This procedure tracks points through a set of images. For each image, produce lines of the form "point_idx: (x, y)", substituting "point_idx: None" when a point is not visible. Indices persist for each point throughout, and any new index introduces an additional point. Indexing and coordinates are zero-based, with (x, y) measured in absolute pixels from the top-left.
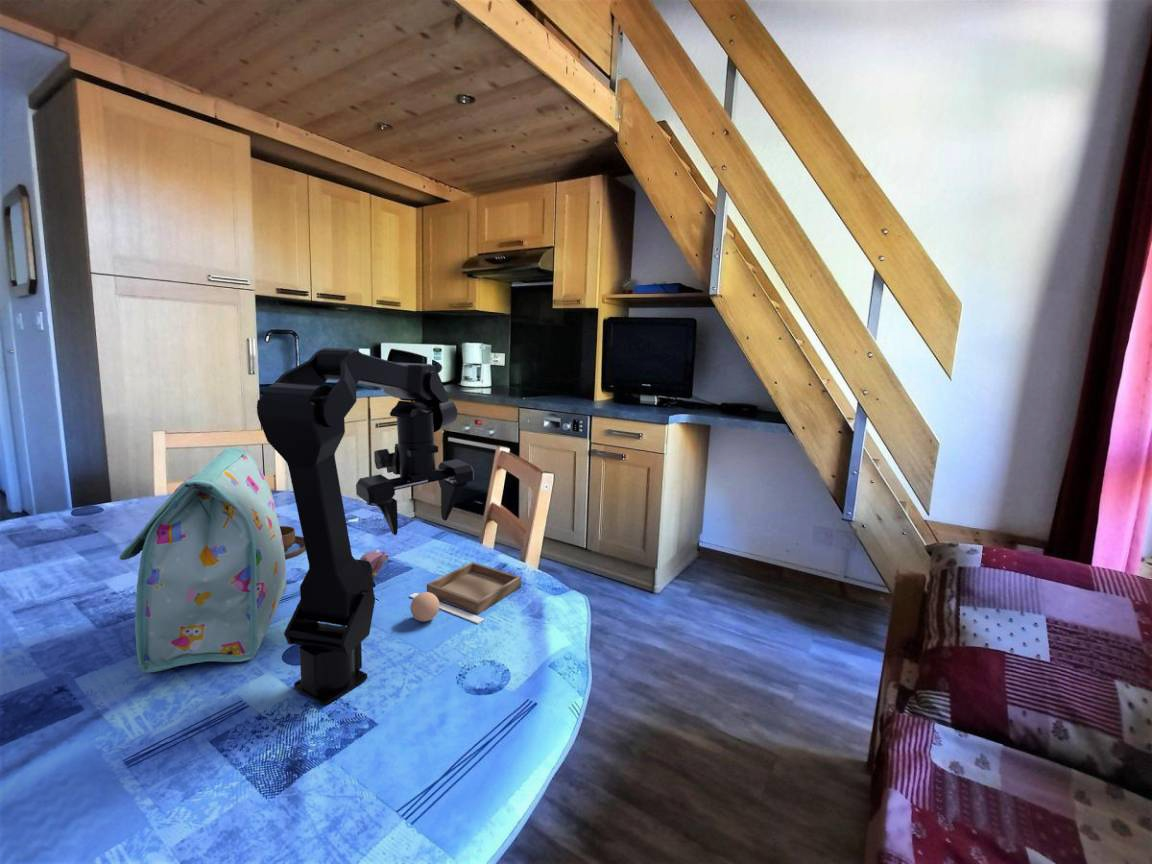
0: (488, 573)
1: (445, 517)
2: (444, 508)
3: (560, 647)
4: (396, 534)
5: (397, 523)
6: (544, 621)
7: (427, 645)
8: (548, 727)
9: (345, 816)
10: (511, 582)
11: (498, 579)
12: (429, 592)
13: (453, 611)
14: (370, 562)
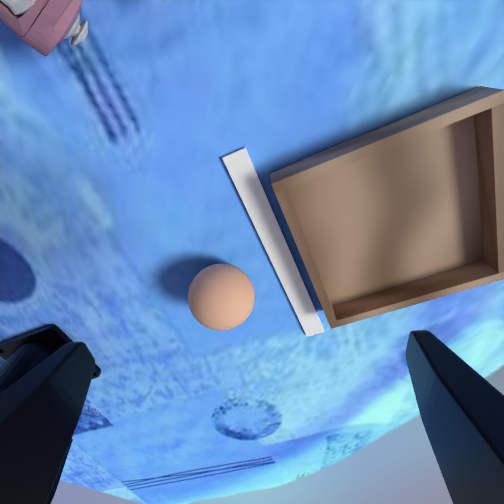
0: (484, 174)
1: (413, 385)
2: (447, 441)
3: (369, 422)
4: (93, 364)
5: (61, 461)
6: (406, 374)
7: (201, 344)
8: (264, 480)
9: (84, 473)
10: (464, 289)
11: (480, 208)
12: (232, 311)
13: (287, 283)
14: (70, 2)
